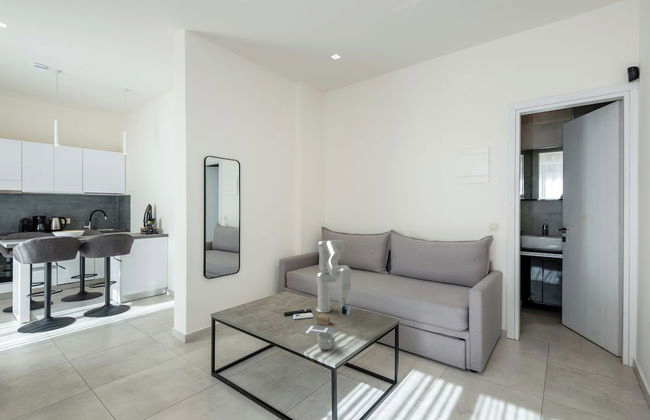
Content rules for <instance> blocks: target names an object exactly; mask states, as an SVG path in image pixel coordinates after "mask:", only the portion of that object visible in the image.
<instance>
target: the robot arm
mask: <svg viewBox="0 0 650 420" xmlns="http://www.w3.org/2000/svg"><path fill="white" fill-rule="evenodd" d="M345 249H346V243H345V241H344V240H342V239H329V240H320V241H319V242H318V243H317V250H318V254H319V257H318V259H319V260H318V268H319V271H321V272H318V273H317V274H316V281H317V282H316V283H317V306H316V308H315V311H316V312H318V313H323V314H324V313H329V312H331V311H332V308H331V307H330V287H329V286H328V284H335V283H337V282H338V279H339V289H340V290H339V304H340V305H341V306H342V314H341V315H343V314H344V316H347V315H346V313H347V309H346V305H349V302H350V299H351V297H350V295H351V291H350V290H351V289H352V270H351V268H350V267H349V266H348V265H345V264H344V265H343V264H342V265H341V264H340V265H339V260H340V259H341V258H342V253H341V252H343V251H344V250H345ZM344 305H345V306H344Z"/></svg>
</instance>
